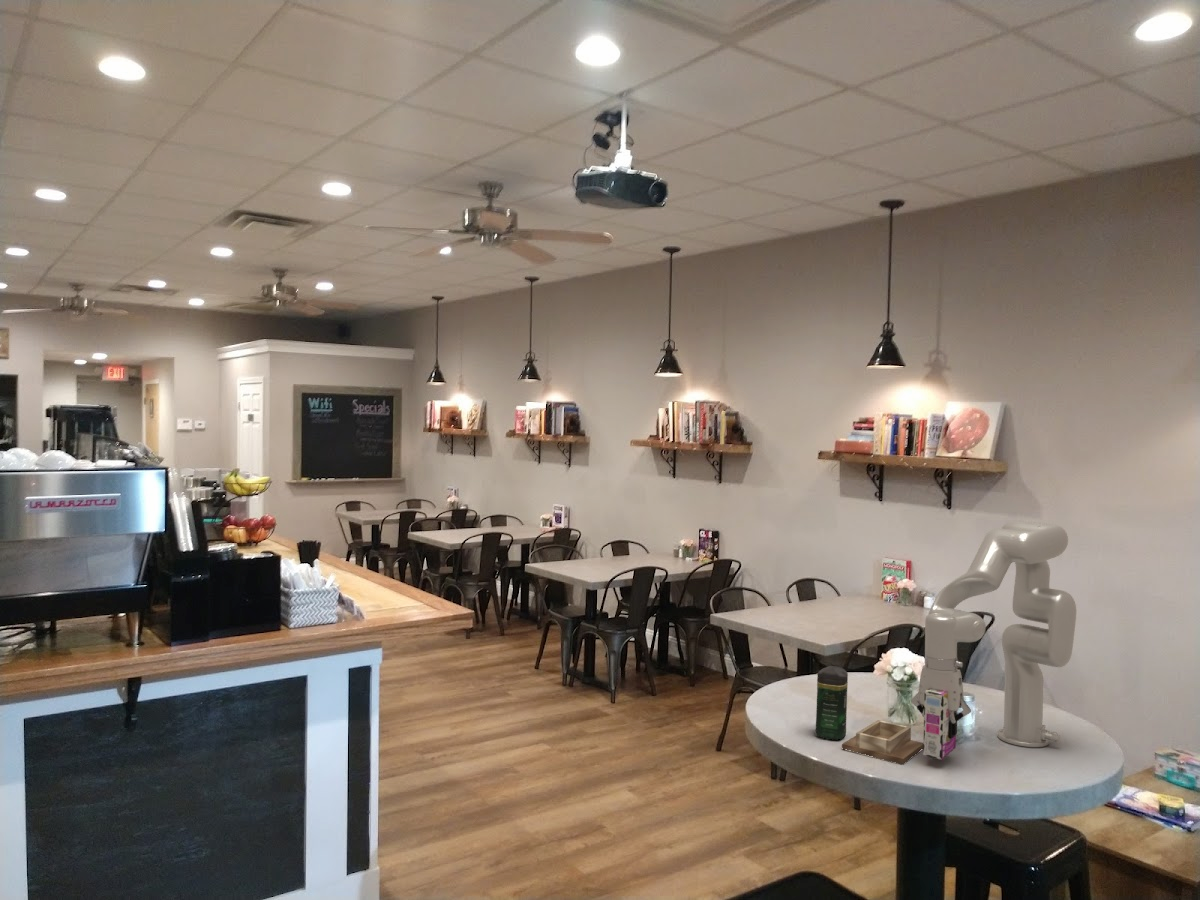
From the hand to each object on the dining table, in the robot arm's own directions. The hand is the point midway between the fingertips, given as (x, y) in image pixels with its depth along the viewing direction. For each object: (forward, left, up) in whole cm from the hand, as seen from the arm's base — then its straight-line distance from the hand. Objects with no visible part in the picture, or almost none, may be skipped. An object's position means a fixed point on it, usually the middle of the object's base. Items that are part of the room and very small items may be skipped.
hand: (940, 734), depth 220 cm
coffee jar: (+29, 0, -7) cm, 30 cm away
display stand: (+14, +1, -7) cm, 16 cm away
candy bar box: (0, 0, -5) cm, 5 cm away
